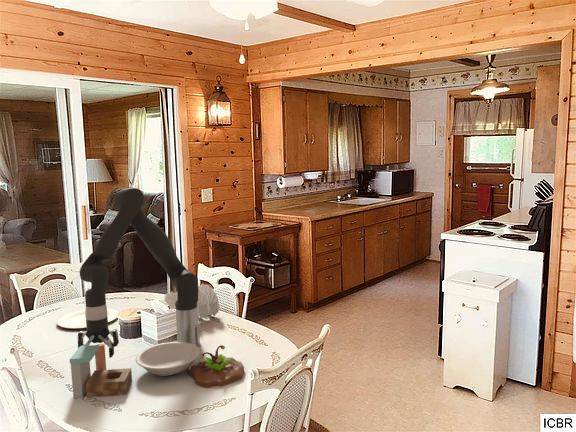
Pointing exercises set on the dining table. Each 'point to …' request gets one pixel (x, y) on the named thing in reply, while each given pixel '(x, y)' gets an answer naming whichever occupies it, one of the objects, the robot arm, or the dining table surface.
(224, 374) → the plant
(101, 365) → the peg
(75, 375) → the teal-topped grey pillar
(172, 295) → the grey rounded lump
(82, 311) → the plate
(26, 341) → the dining table surface
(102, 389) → the socket
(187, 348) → the soup bowl
